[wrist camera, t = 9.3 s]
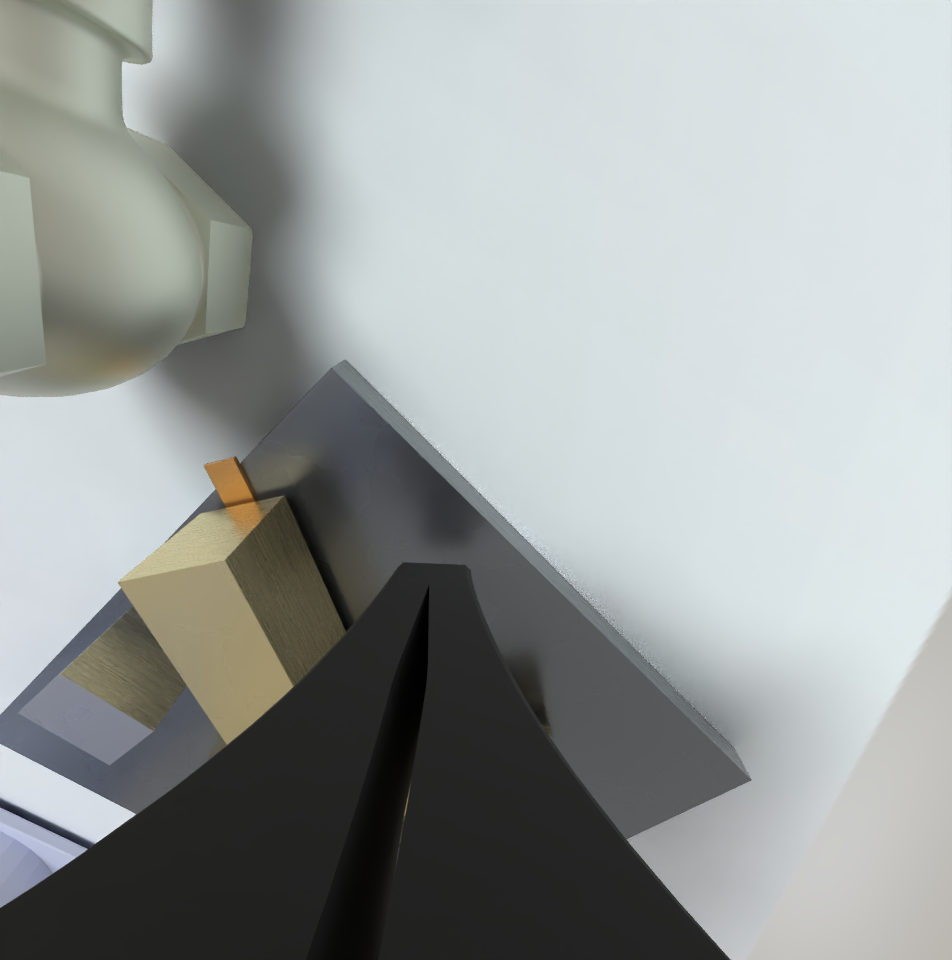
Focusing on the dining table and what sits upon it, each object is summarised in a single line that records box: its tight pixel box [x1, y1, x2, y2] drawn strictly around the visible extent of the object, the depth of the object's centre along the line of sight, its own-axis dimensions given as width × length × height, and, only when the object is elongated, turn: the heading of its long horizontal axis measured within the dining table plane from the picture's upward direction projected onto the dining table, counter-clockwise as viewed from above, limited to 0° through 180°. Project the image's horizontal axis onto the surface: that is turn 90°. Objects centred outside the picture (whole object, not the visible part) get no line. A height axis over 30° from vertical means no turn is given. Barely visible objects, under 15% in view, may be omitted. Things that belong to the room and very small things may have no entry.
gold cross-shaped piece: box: [118, 495, 551, 864], centre depth 11 cm, size 14×11×3 cm
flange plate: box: [0, 360, 751, 839], centre depth 13 cm, size 16×18×4 cm
